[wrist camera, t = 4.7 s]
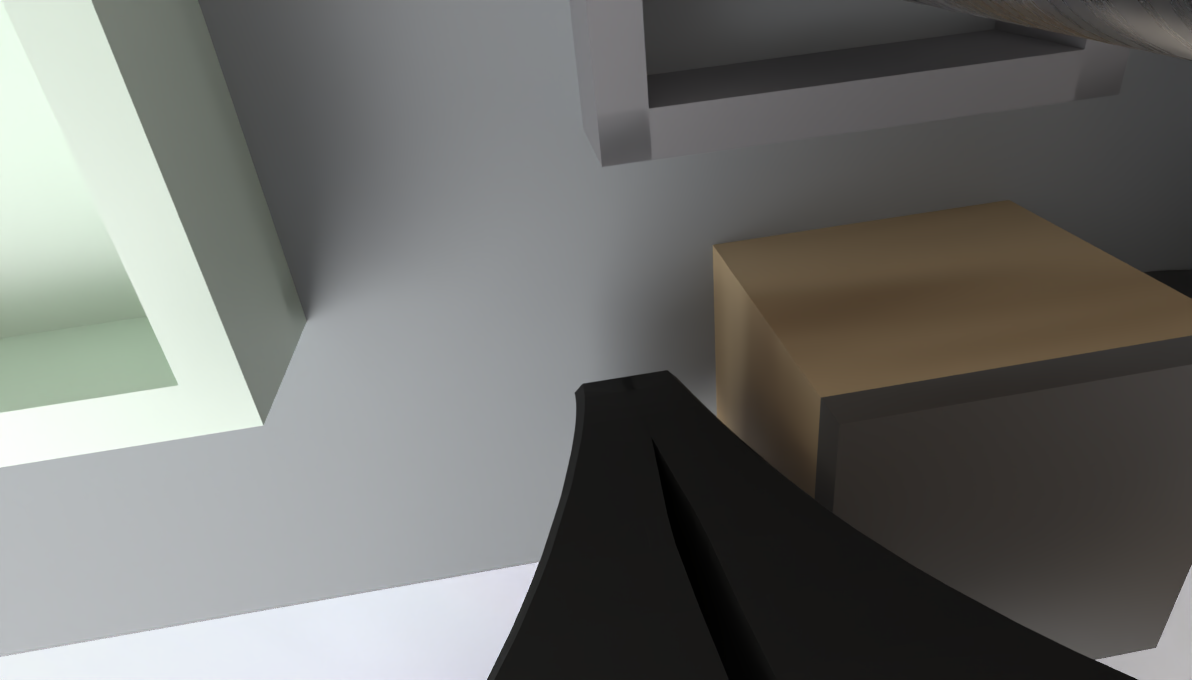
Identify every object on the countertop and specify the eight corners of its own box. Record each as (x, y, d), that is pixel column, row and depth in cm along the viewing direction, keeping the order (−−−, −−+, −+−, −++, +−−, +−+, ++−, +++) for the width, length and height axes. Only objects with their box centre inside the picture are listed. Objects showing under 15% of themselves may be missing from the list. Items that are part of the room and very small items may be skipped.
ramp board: (1322, 374, 14) (1492, 467, 12) (-18, 604, 12) (-133, 766, 10) (1796, -631, 8) (2366, -867, 5) (-808, -438, 6) (-1603, -652, 4)
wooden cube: (964, 439, 12) (1155, 647, 9) (718, 482, 12) (816, 714, 8) (1008, 200, 10) (1283, 348, 6) (712, 245, 10) (838, 424, 6)
